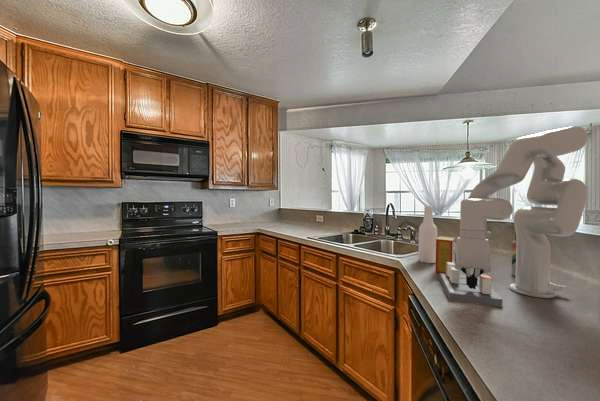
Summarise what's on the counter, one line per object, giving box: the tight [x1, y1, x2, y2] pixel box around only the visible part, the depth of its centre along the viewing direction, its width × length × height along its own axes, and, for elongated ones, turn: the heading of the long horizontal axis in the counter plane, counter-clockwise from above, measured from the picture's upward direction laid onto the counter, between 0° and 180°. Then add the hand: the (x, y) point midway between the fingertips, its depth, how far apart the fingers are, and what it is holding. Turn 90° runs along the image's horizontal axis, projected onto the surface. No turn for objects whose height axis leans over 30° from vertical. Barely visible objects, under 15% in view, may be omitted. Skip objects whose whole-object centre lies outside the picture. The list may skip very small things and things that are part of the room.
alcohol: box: [417, 205, 438, 264], centre depth 141 cm, size 9×9×30 cm
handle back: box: [446, 262, 455, 277], centre depth 107 cm, size 2×4×5 cm, turn 159°
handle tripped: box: [479, 274, 493, 295], centre depth 89 cm, size 2×4×5 cm, turn 159°
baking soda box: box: [435, 236, 456, 274], centre depth 123 cm, size 10×6×16 cm
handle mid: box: [450, 267, 461, 284], centre depth 100 cm, size 2×4×5 cm, turn 159°
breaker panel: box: [438, 273, 504, 308], centre depth 98 cm, size 15×24×3 cm, turn 159°
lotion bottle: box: [511, 231, 516, 277], centre depth 117 cm, size 6×6×20 cm
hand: (471, 287), depth 91 cm, fingers closed
